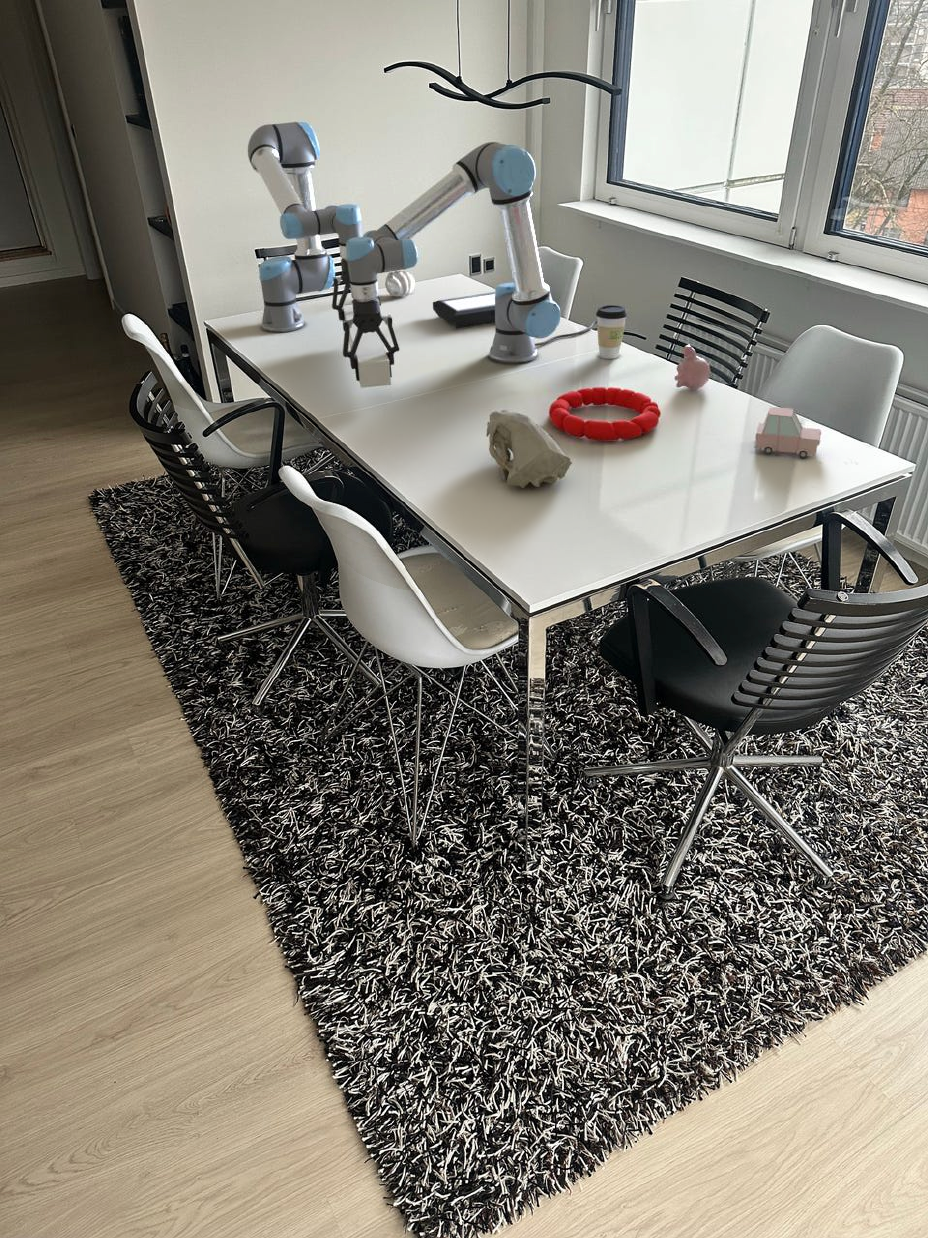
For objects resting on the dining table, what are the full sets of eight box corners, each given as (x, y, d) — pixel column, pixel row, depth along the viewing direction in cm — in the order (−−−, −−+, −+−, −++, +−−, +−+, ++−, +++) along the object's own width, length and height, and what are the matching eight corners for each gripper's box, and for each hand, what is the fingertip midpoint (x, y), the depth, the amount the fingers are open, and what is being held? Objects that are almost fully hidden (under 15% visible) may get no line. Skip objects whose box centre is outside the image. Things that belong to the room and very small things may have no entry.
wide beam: (344, 326, 303) (342, 305, 299) (369, 324, 304) (368, 303, 300) (361, 387, 254) (358, 363, 250) (391, 384, 255) (389, 360, 251)
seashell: (379, 296, 357) (377, 270, 351) (412, 290, 362) (411, 264, 357) (389, 302, 349) (388, 275, 343) (423, 296, 355) (422, 270, 349)
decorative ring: (589, 435, 224) (684, 402, 234) (527, 398, 247) (617, 369, 256) (589, 461, 229) (683, 427, 238) (529, 422, 251) (617, 393, 260)
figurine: (665, 387, 264) (669, 347, 257) (693, 380, 268) (698, 340, 261) (686, 396, 257) (690, 355, 250) (714, 388, 262) (720, 348, 255)
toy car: (816, 461, 219) (824, 423, 213) (752, 454, 224) (758, 416, 218) (817, 446, 226) (825, 408, 221) (755, 439, 231) (761, 402, 225)
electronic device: (454, 313, 312) (432, 299, 327) (455, 331, 315) (433, 317, 330) (535, 300, 322) (510, 288, 337) (534, 318, 326) (510, 305, 341)
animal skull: (496, 517, 219) (521, 479, 201) (463, 429, 225) (484, 384, 207) (557, 503, 225) (586, 465, 206) (523, 417, 231) (549, 373, 212)
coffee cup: (626, 360, 285) (629, 312, 276) (595, 360, 285) (598, 313, 277) (622, 350, 293) (625, 303, 284) (592, 351, 293) (594, 304, 285)
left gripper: (319, 263, 281) (327, 334, 294) (386, 258, 284) (391, 329, 297) (318, 257, 287) (326, 327, 300) (384, 252, 290) (389, 322, 303)
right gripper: (327, 305, 242) (337, 385, 255) (405, 297, 244) (412, 377, 257) (325, 298, 248) (336, 376, 261) (402, 290, 250) (408, 369, 263)
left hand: (358, 328), depth 298 cm, fingers closed on wide beam, 9 cm apart
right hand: (374, 377), depth 259 cm, fingers closed on wide beam, 9 cm apart
